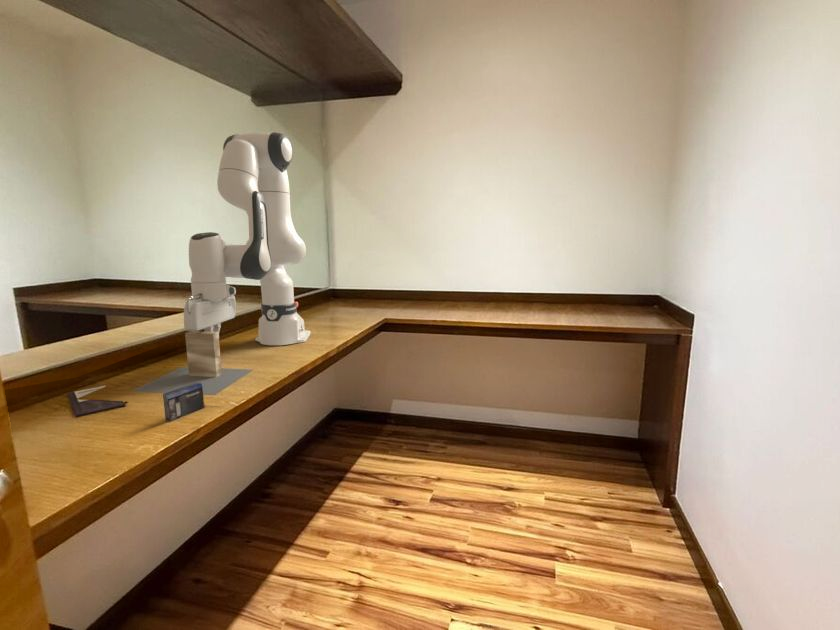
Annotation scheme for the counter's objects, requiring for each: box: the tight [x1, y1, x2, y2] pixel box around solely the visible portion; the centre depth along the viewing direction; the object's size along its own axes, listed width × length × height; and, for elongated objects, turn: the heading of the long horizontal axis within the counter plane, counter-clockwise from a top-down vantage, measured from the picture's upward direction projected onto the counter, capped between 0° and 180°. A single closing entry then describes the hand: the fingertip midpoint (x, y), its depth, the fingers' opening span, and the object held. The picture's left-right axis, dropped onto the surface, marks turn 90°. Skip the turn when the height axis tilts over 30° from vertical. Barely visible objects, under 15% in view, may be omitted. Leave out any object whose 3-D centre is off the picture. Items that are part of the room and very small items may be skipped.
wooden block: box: [184, 330, 222, 377], centre depth 119 cm, size 3×8×12 cm, turn 84°
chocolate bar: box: [66, 384, 126, 418], centre depth 103 cm, size 9×1×18 cm
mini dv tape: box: [162, 382, 205, 423], centre depth 95 cm, size 8×2×6 cm, turn 154°
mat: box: [130, 366, 254, 396], centre depth 116 cm, size 20×22×1 cm
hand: (213, 339), depth 123 cm, fingers closed
